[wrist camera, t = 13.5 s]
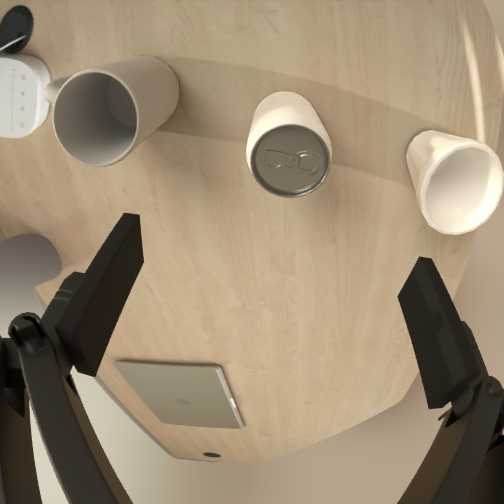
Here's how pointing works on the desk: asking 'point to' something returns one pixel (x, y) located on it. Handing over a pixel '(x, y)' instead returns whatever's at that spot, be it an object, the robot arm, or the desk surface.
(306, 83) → the desk surface
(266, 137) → the can
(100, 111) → the mug
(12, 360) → the robot arm
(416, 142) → the cup
